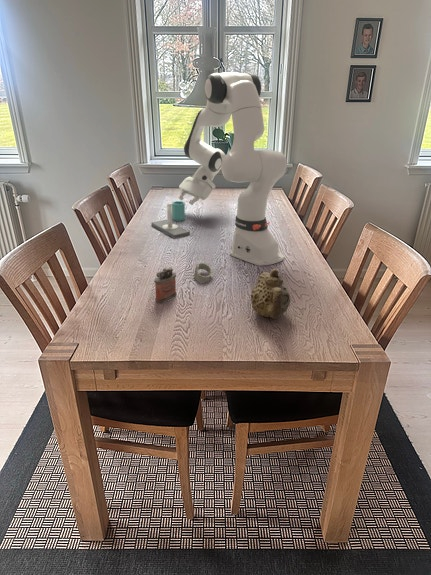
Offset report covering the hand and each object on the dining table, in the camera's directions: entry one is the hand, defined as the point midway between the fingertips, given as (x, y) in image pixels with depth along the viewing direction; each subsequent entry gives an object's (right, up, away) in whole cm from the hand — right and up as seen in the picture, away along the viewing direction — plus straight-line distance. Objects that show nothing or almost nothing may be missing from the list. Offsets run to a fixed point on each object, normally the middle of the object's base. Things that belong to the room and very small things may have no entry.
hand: (185, 201), depth 199 cm
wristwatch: (+10, -38, -56) cm, 68 cm away
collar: (-3, -8, +2) cm, 9 cm away
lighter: (-1, -45, -70) cm, 83 cm away
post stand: (-6, -16, -13) cm, 21 cm away
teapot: (+31, -50, -77) cm, 97 cm away
